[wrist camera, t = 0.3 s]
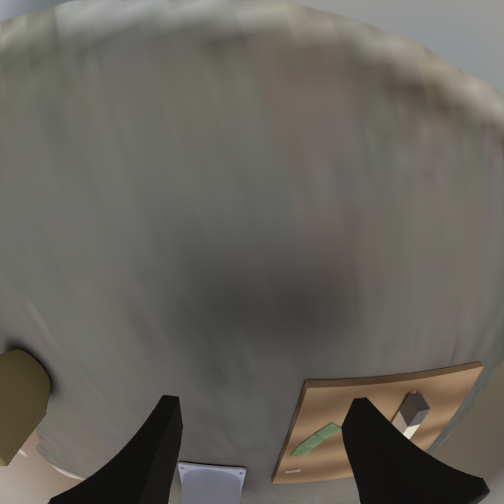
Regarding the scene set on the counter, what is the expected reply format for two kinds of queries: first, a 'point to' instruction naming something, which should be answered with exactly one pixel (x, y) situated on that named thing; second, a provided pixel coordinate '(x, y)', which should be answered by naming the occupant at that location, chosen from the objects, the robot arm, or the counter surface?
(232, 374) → the counter surface
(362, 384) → the board
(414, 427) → the peg
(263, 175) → the counter surface
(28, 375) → the squeeze bottle
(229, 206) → the counter surface
